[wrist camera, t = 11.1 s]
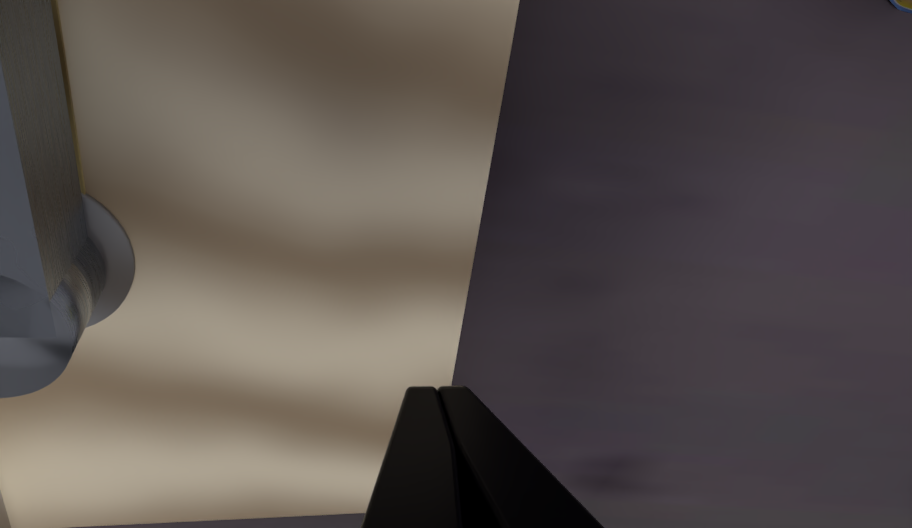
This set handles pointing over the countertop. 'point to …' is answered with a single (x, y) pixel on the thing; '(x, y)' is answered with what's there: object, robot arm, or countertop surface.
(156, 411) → the board
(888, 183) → the countertop surface
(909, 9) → the ink cartridge box
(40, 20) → the latch bar
